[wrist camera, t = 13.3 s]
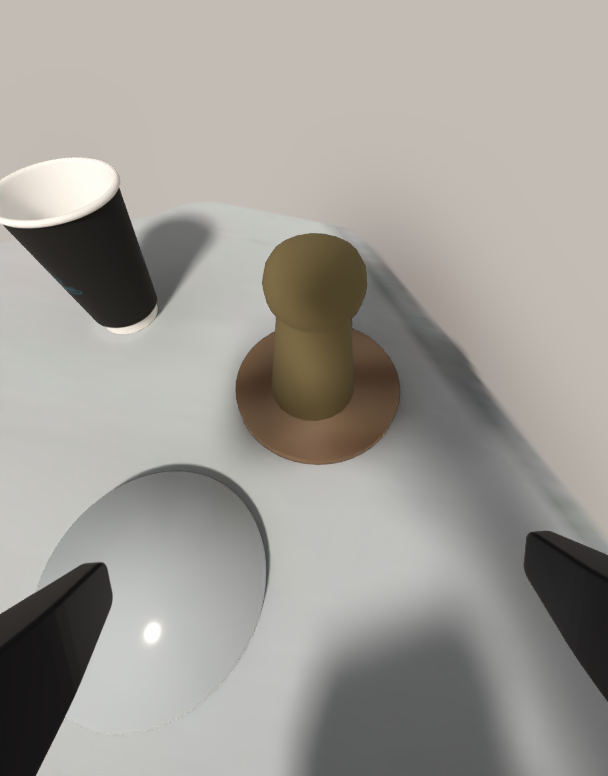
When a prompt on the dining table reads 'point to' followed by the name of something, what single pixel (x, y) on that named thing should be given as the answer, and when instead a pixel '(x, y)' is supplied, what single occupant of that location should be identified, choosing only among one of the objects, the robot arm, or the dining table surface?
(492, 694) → the dining table surface
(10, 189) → the dixie cup
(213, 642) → the grey round disc
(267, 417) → the walnut trivet
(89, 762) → the dining table surface
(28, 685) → the robot arm
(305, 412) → the olive chess pawn
